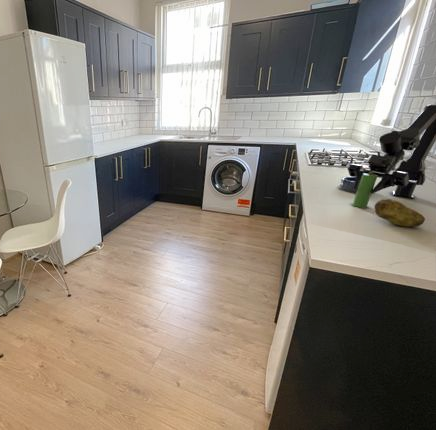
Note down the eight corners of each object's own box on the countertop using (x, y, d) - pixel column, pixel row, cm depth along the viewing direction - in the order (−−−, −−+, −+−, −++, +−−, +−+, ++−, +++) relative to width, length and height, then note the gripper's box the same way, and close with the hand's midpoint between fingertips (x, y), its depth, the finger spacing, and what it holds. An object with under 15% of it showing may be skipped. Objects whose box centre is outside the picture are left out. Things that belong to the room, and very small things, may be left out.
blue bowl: (340, 185, 142) (343, 175, 140) (370, 189, 135) (373, 179, 133) (337, 190, 134) (341, 180, 132) (369, 195, 127) (373, 184, 125)
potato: (418, 232, 90) (428, 209, 87) (367, 220, 100) (375, 199, 97) (422, 226, 95) (432, 204, 92) (373, 215, 104) (381, 194, 101)
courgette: (352, 203, 117) (364, 170, 111) (366, 205, 114) (378, 172, 109) (352, 206, 114) (363, 172, 108) (366, 208, 111) (378, 174, 106)
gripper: (357, 144, 114) (332, 173, 114) (417, 150, 99) (389, 184, 99) (362, 161, 120) (339, 189, 120) (419, 170, 104) (392, 202, 105)
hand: (362, 190), depth 111 cm, fingers open, 6 cm apart
